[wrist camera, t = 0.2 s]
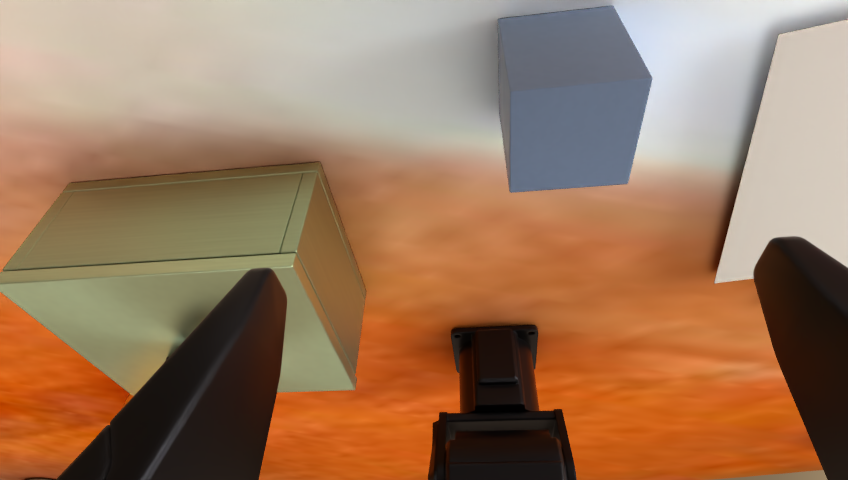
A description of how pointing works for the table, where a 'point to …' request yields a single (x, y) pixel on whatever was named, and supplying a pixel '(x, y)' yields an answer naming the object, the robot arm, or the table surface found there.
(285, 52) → the table surface
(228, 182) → the waste bin
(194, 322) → the bin lid
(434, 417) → the table surface
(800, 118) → the paper stack
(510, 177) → the blue-grey block
